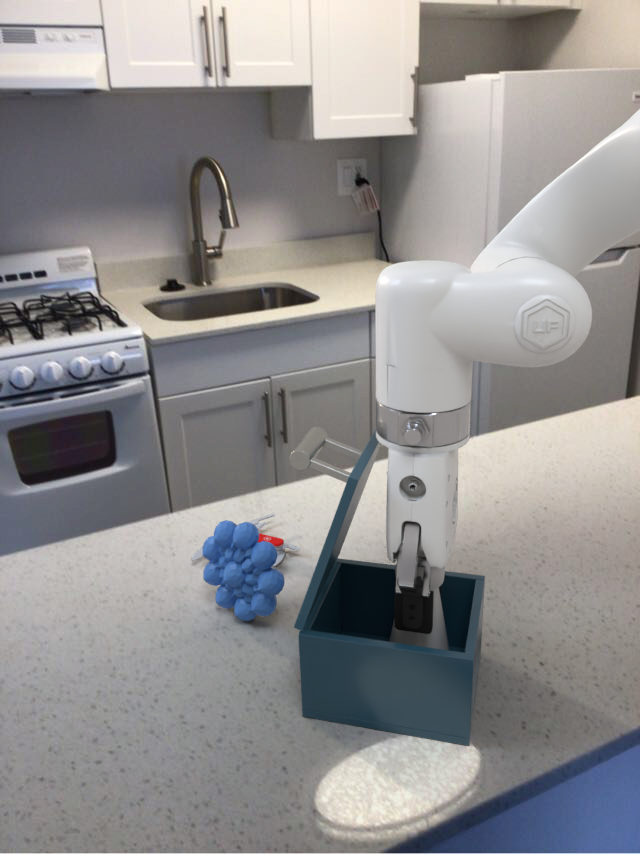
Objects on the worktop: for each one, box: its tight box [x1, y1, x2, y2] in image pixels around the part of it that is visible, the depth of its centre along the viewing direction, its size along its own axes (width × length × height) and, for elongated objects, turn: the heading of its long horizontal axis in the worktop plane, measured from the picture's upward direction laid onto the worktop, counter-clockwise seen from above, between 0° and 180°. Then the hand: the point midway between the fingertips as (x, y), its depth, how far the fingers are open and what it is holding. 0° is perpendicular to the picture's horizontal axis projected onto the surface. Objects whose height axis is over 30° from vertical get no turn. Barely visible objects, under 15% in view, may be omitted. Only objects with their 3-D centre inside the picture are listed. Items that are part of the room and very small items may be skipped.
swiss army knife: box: [191, 513, 302, 568], centre depth 94 cm, size 12×14×2 cm
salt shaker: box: [389, 552, 449, 650], centre depth 68 cm, size 6×6×13 cm
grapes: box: [201, 519, 285, 622], centre depth 79 cm, size 12×7×12 cm, turn 49°
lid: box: [288, 426, 382, 632], centre depth 66 cm, size 15×13×6 cm
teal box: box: [297, 557, 486, 747], centre depth 69 cm, size 15×13×9 cm
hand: (418, 608), depth 67 cm, fingers open, 5 cm apart
